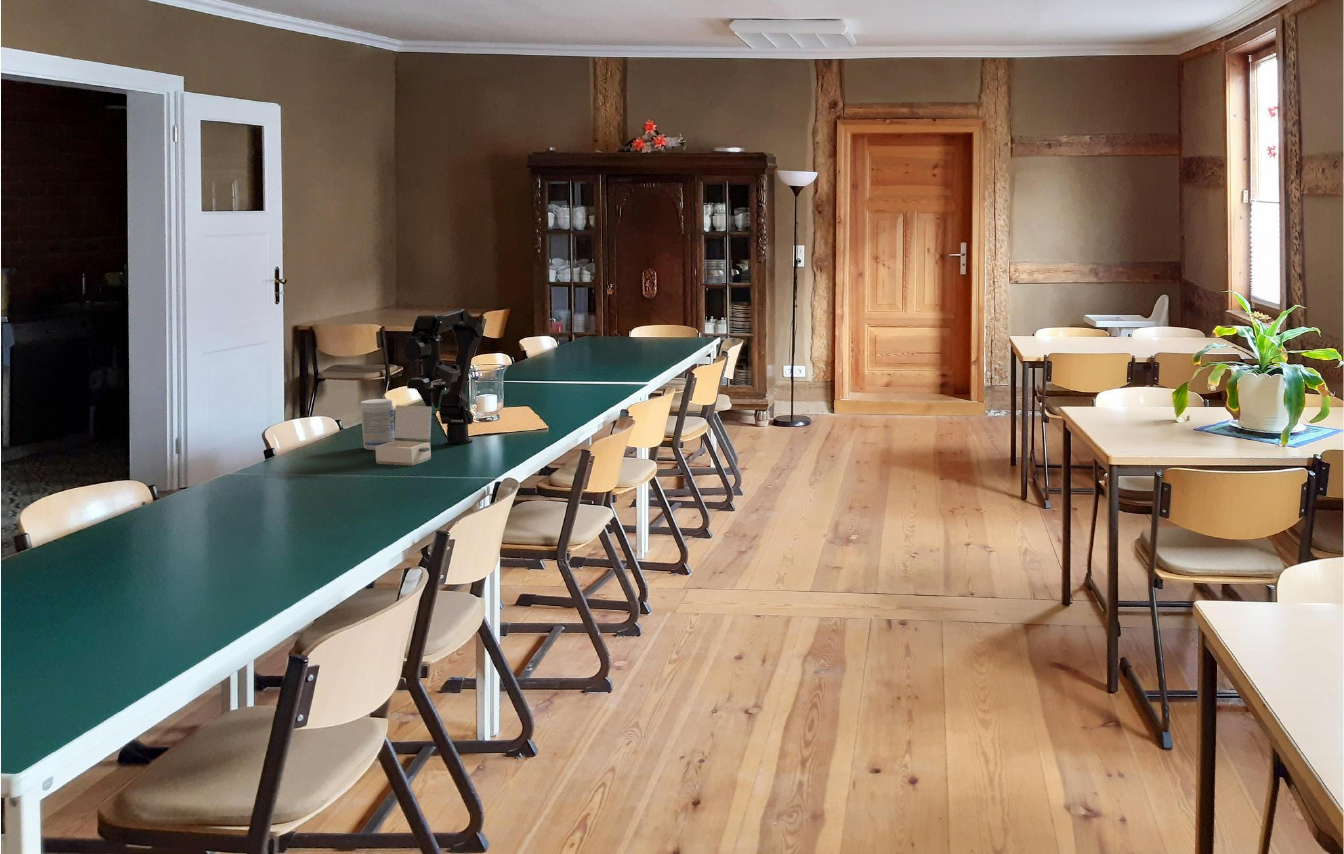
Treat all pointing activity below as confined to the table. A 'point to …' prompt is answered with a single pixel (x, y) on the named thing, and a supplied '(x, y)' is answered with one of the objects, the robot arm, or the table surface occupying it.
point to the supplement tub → (377, 422)
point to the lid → (413, 423)
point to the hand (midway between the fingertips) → (433, 408)
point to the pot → (403, 453)
